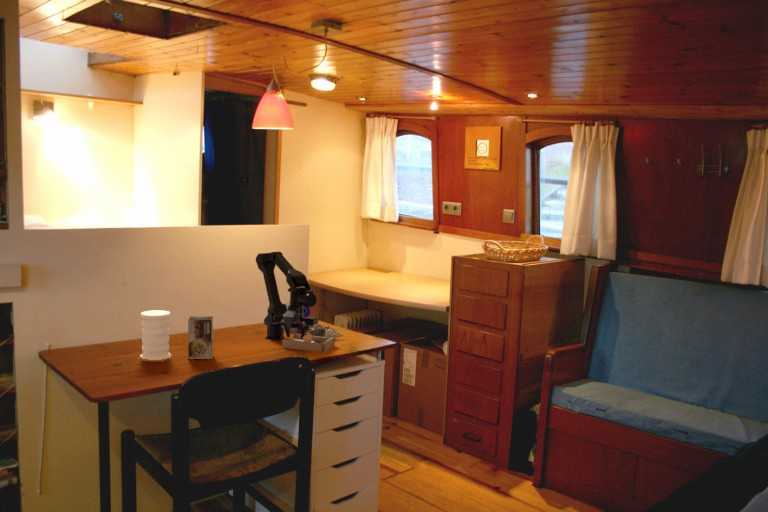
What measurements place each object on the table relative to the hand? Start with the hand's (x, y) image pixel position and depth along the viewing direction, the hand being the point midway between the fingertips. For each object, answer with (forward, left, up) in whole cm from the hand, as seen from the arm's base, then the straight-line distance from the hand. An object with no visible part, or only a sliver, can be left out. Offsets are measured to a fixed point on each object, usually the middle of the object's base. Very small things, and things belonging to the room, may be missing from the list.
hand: (295, 338), depth 284 cm
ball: (+6, 0, 0) cm, 6 cm away
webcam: (-13, +28, -3) cm, 31 cm away
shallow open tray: (+6, 0, -3) cm, 7 cm away
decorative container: (-40, -42, -3) cm, 58 cm away
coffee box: (-25, -34, -3) cm, 42 cm away
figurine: (+6, +19, -4) cm, 20 cm away
